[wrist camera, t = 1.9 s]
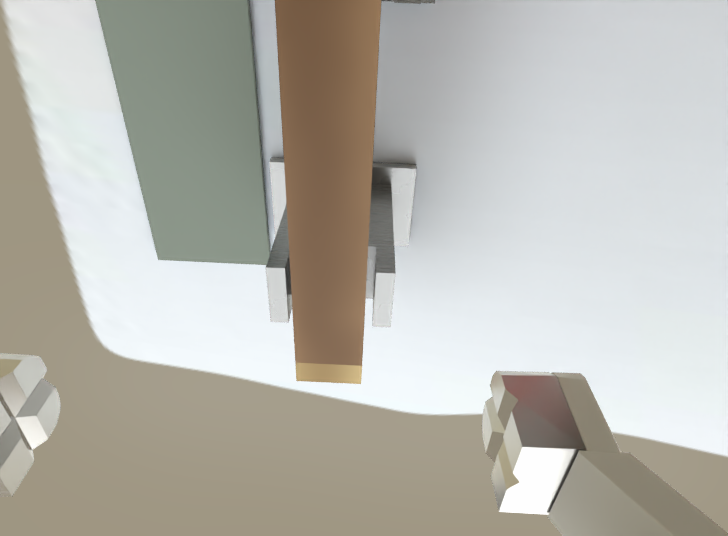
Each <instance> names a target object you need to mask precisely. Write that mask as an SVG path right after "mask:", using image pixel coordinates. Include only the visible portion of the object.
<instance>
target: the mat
mask: <svg viewBox="0 0 728 536" xmlns="http://www.w3.org/2000/svg"><path fill="white" fill-rule="evenodd" d="M95 1H96V5H97V10H98V14H99V18H100V22H101V26H102V30H103V34H104V38H105V42H106V47H107V51H108V55H109V59H110V63H111V67H112V71H113V75H114V80H115V84H116V88H117V92H118V96H119V100H120V104H121V108H122V112H123V117H124V121H125V125H126V129H127V133H128V137H129V141H130V145H131V150H132V154H133V158H134V162H135V166H136V170H137V174H138V178H139V182H140V187H141V191H142V195H143V199H144V203H145V207H146V211H147V215H148V220H149V224H150V228H151V232H152V236H153V240H154V244H155V248H156V252H157V257H158V260H173V261H194V262H216V263H237V264H258V265H267V262H268V259H269V256H270V243H269V231H268V220H267V208H266V196H265V184H264V172H263V160H262V148H261V136H260V124H259V112H258V100H257V88H256V76H255V64H254V52H253V40H252V28H251V16H250V4H249V0H95Z"/></svg>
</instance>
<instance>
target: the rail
mask: <svg viewBox="0 0 728 536" xmlns="http://www.w3.org/2000/svg"><path fill="white" fill-rule="evenodd" d="M275 11H276V28H277V46H278V64H279V81H280V99H281V116H282V134H283V151H284V169H285V186H286V204H287V221H288V239H289V256H290V274H291V291H292V309H293V326H294V344H295V361H296V379H297V381H311V382H333V383H354V384H361V373H362V354H363V335H364V316H365V298H366V279H367V260H368V241H369V222H370V203H371V184H372V165H373V146H374V127H375V108H376V90H377V71H378V52H379V33H380V14H381V0H275Z"/></svg>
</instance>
